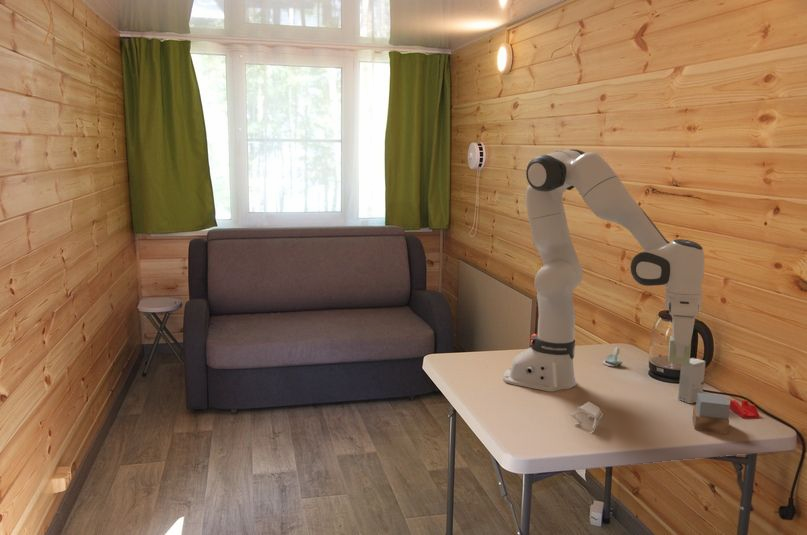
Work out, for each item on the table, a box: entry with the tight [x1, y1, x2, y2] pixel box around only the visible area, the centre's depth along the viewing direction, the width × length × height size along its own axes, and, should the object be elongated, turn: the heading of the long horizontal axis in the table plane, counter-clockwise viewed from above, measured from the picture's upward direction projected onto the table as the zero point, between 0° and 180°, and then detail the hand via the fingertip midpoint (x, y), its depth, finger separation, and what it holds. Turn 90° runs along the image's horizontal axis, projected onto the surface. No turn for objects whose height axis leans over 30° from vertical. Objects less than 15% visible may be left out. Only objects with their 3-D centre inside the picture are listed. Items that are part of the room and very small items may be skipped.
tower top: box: [695, 392, 730, 419], centre depth 181 cm, size 7×7×4 cm
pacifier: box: [602, 346, 624, 367], centre depth 231 cm, size 7×6×6 cm
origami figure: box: [569, 401, 604, 434], centre depth 180 cm, size 12×8×5 cm
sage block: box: [668, 335, 692, 365], centre depth 179 cm, size 5×5×6 cm
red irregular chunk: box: [729, 399, 760, 419], centre depth 191 cm, size 6×5×3 cm
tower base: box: [692, 404, 730, 435], centre depth 182 cm, size 8×8×4 cm
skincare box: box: [677, 357, 707, 404], centre depth 200 cm, size 6×4×12 cm
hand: (679, 353), depth 179 cm, fingers closed on sage block, 5 cm apart
